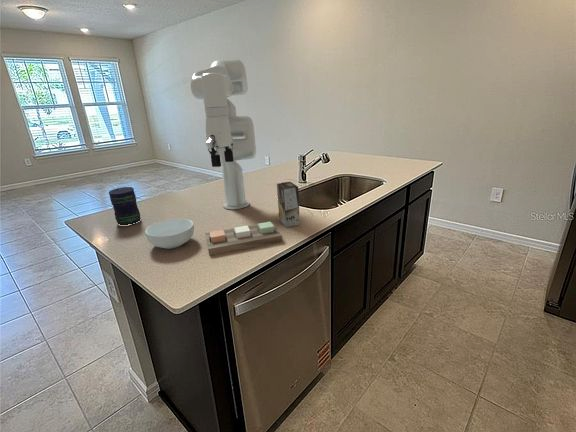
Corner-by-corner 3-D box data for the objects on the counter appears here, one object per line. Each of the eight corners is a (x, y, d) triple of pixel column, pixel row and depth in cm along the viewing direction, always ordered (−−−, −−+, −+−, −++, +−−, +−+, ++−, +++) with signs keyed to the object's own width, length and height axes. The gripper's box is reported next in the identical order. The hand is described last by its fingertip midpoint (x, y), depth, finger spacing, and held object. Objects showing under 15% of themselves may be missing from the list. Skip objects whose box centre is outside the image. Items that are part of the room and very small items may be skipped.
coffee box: (300, 224, 126) (299, 186, 120) (285, 227, 124) (283, 189, 118) (292, 217, 134) (290, 181, 128) (278, 219, 132) (275, 183, 126)
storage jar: (146, 220, 140) (138, 188, 134) (126, 228, 132) (117, 195, 126) (132, 216, 145) (124, 186, 139) (112, 224, 137) (103, 192, 131)
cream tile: (235, 235, 116) (234, 227, 115) (248, 232, 118) (247, 225, 117) (237, 240, 112) (236, 232, 111) (250, 238, 113) (250, 230, 112)
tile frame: (206, 238, 118) (205, 232, 117) (271, 227, 125) (271, 221, 124) (209, 255, 106) (208, 249, 105) (282, 241, 113) (281, 235, 112)
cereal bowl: (205, 241, 116) (202, 224, 114) (163, 259, 105) (159, 240, 102) (181, 230, 127) (178, 214, 124) (141, 246, 116) (136, 228, 113)
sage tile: (258, 230, 119) (257, 223, 118) (271, 228, 120) (270, 221, 119) (261, 236, 114) (260, 228, 113) (274, 233, 116) (274, 226, 115)
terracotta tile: (210, 239, 114) (209, 232, 113) (224, 236, 115) (223, 229, 114) (211, 245, 110) (210, 237, 109) (226, 242, 111) (225, 234, 110)
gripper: (219, 113, 113) (224, 160, 119) (193, 114, 98) (201, 168, 103) (238, 112, 111) (242, 159, 117) (214, 113, 96) (221, 168, 101)
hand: (223, 164), depth 110 cm, fingers open, 9 cm apart
